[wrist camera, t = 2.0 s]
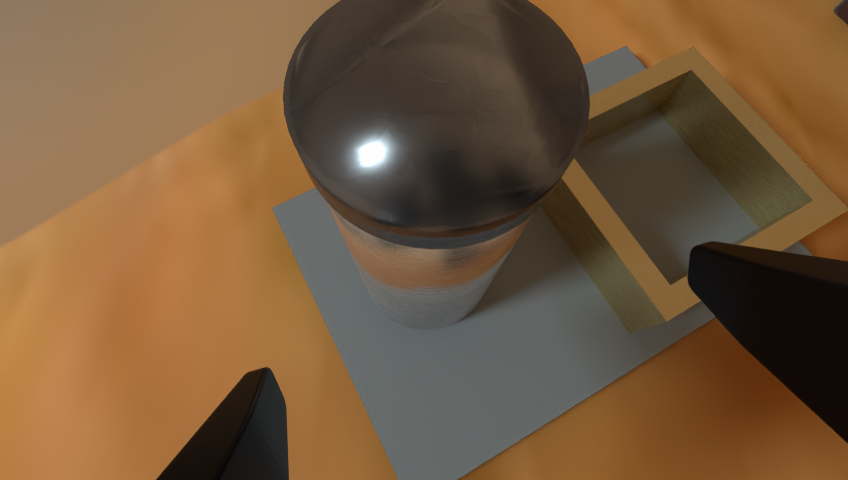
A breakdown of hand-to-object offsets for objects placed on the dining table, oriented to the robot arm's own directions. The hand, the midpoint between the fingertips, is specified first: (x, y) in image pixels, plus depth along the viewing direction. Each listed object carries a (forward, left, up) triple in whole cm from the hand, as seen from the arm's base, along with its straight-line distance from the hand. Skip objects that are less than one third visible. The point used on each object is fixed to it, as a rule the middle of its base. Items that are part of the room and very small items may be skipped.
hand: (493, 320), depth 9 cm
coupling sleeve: (+4, -1, -10) cm, 11 cm away
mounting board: (+3, -6, -11) cm, 13 cm away
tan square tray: (+2, -12, -10) cm, 16 cm away
